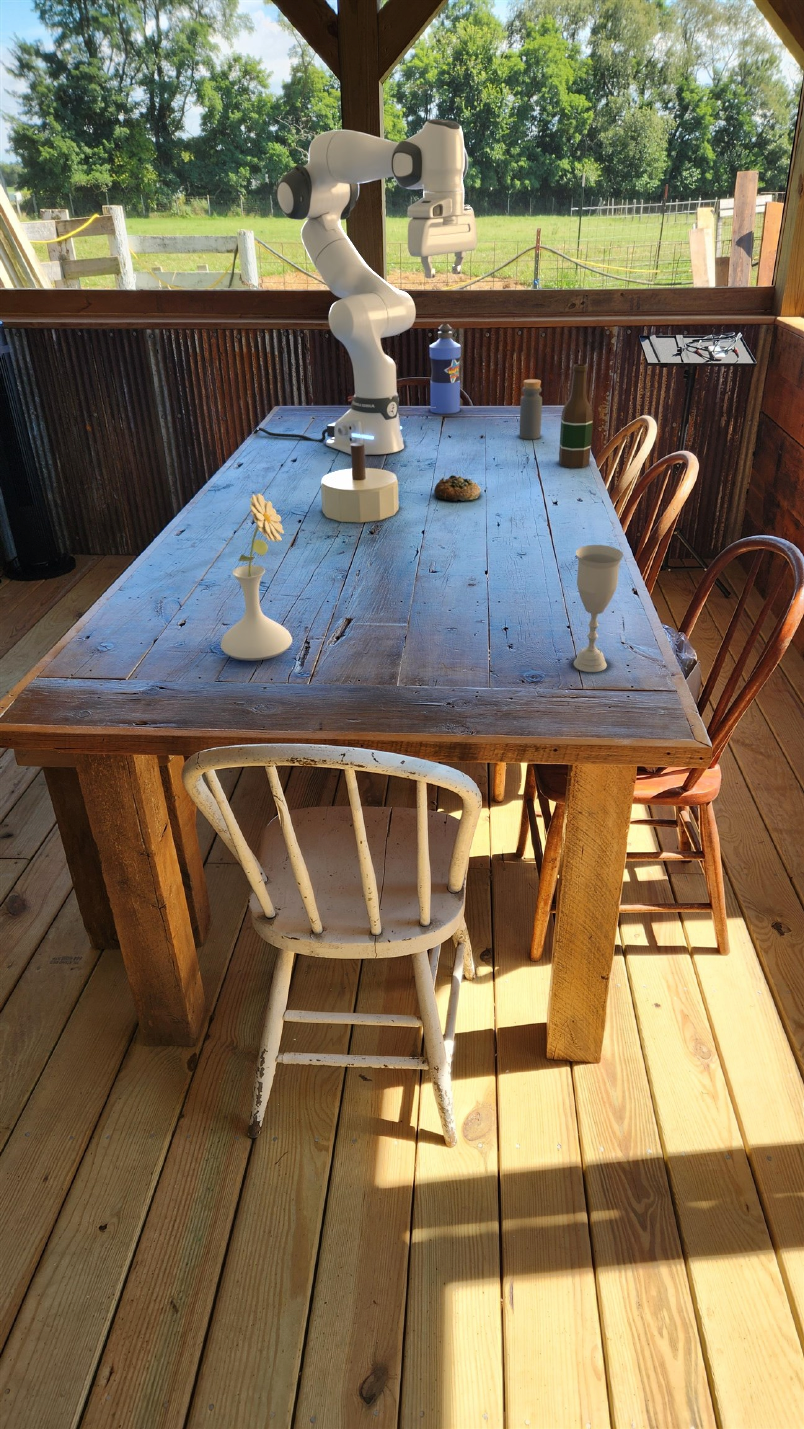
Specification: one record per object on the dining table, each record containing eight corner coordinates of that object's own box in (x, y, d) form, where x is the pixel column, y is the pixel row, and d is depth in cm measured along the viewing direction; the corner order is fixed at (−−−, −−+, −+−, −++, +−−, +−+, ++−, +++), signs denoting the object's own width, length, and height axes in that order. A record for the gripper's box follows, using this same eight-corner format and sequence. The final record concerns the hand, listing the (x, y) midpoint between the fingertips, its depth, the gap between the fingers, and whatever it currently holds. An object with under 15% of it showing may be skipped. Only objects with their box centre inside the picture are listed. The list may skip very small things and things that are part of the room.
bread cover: (308, 511, 215) (303, 445, 208) (361, 494, 225) (358, 430, 218) (360, 527, 205) (356, 458, 198) (412, 508, 215) (411, 442, 208)
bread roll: (423, 495, 222) (426, 473, 220) (454, 490, 230) (456, 469, 228) (460, 506, 216) (463, 484, 214) (490, 501, 224) (493, 479, 221)
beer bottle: (591, 460, 245) (599, 362, 233) (586, 469, 238) (594, 368, 226) (561, 458, 247) (567, 361, 235) (555, 467, 241) (561, 366, 229)
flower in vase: (262, 673, 148) (245, 516, 135) (206, 657, 153) (185, 504, 140) (313, 641, 157) (301, 491, 144) (259, 627, 162) (243, 481, 150)
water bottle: (466, 409, 297) (467, 323, 285) (446, 415, 292) (446, 327, 279) (443, 405, 303) (443, 320, 290) (423, 410, 297) (422, 324, 285)
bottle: (540, 434, 269) (542, 378, 262) (540, 439, 264) (543, 382, 257) (519, 434, 270) (521, 378, 262) (519, 439, 265) (521, 382, 257)
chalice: (562, 655, 151) (570, 546, 142) (605, 652, 151) (615, 543, 142) (574, 676, 144) (582, 564, 135) (618, 674, 145) (629, 561, 136)
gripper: (462, 203, 217) (461, 270, 224) (402, 208, 204) (403, 279, 211) (484, 204, 213) (483, 272, 220) (424, 208, 200) (425, 281, 207)
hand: (443, 275), depth 216 cm, fingers open, 8 cm apart
